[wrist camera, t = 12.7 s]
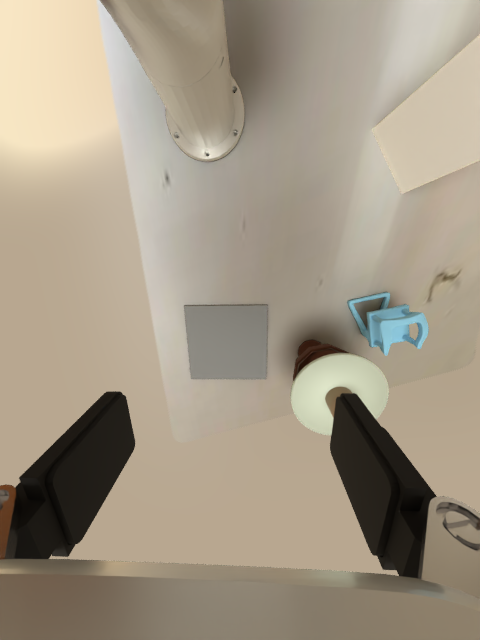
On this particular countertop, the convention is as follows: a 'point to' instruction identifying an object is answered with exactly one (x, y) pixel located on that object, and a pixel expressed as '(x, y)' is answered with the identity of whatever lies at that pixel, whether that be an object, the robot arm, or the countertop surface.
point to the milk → (435, 124)
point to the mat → (227, 341)
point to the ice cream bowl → (312, 354)
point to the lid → (336, 388)
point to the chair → (389, 323)
